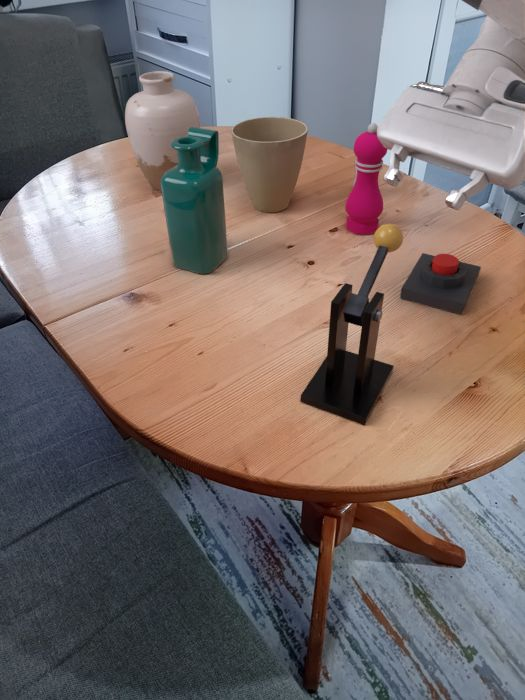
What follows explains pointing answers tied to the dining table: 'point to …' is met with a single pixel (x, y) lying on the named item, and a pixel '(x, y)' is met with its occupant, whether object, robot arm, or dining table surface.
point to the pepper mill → (366, 184)
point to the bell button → (445, 264)
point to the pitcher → (195, 203)
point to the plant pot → (270, 159)
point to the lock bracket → (350, 365)
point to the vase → (158, 123)
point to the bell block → (440, 285)
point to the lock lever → (373, 271)
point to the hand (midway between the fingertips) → (419, 194)
